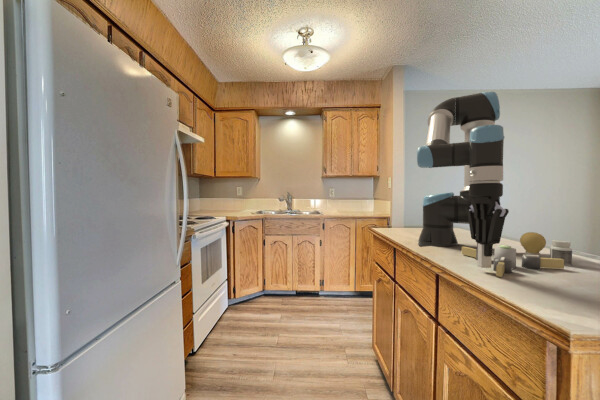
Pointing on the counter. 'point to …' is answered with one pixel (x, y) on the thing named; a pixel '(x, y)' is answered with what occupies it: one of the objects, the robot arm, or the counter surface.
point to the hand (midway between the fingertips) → (484, 266)
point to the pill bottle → (561, 251)
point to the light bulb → (532, 243)
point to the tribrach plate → (506, 253)
